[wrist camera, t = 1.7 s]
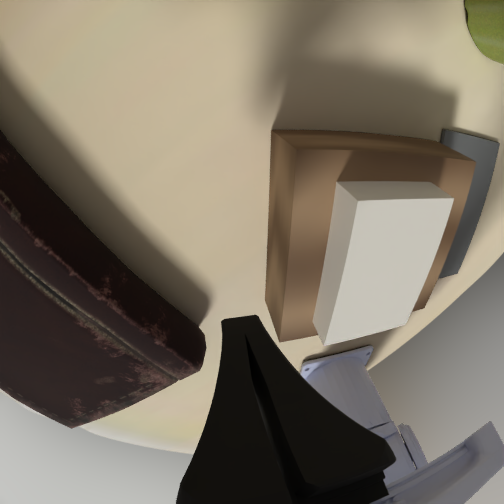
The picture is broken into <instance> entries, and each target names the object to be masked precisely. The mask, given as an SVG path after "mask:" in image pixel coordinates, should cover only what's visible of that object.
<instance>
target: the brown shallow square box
mask: <svg viewBox="0 0 504 504" xmlns="http://www.w3.org/2000/svg"><path fill="white" fill-rule="evenodd" d="M475 166H476V161H474V160H472V159H470V158H469V157H467V156H465V155H463V154H461V153H459V152H457V151H455V150H453V149H451V148H449V147H447V146H445V145H443V144H441V143H439V142H437V141H432V140H425V139H418V138H411V137H403V136H394V135H384V134H373V133H361V132H345V131H324V130H271V158H270V190H269V219H268V244H267V268H266V291H265V301H266V304H267V307H268V310H269V313H270V316H271V319H272V322H273V325H274V328H275V331H276V334H277V337H278V339H279V342H284V341H290V340H295V339H300V338H306V337H311V336H316V335H318V333H317V330H316V328H315V326H314V324H313V322H312V321H313V316H314V312H315V307H316V302H317V297H318V292H319V287H320V282H321V276H322V271H323V265H324V260H325V254H326V248H327V242H328V236H329V230H330V223H331V217H332V210H333V203H334V196H335V189H336V182H349V181H410V182H431V183H433V184H434V185H436V186H437V187H439V188H440V189H442V190H443V191H444V192H446V193H447V194H449V195H450V196H452V197H453V198H454V201H453V205H452V208H451V211H450V215H449V218H448V221H447V224H446V227H445V230H444V233H443V236H442V239H441V242H440V244H439V247H438V250H437V253H436V255H435V258H434V261H433V263H432V266H431V268H430V271H429V273H428V276H427V278H426V281H425V283H424V285H423V288H422V290H421V292H420V295H419V297H418V299H417V301H416V303H415V306H414V308H413V310H412V312H413V311H416V310H420V309H423V308H425V305H426V303H427V301H428V299H429V297H430V295H431V293H432V291H433V288H434V286H435V284H436V282H437V279H438V277H439V275H440V272H441V270H442V268H443V265H444V263H445V260H446V258H447V255H448V253H449V250H450V247H451V245H452V242H453V239H454V236H455V234H456V231H457V228H458V225H459V222H460V219H461V216H462V213H463V210H464V206H465V203H466V200H467V196H468V193H469V189H470V186H471V182H472V178H473V174H474V170H475Z"/></svg>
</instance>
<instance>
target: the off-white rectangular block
mask: <svg viewBox="0 0 504 504" xmlns="http://www.w3.org/2000/svg"><path fill="white" fill-rule="evenodd" d="M453 201H454V198H453V197H452V196H450V195H449V194H447V193H446V192H444V191H443V190H442V189H440V188H439V187H437V186H436V185H434V184H433V183H431V182H410V181H349V182H336V189H335V196H334V203H333V210H332V217H331V223H330V230H329V236H328V242H327V248H326V254H325V260H324V265H323V271H322V276H321V282H320V287H319V292H318V297H317V302H316V307H315V312H314V316H313V321H312V322H313V324H314V326H315V328H316V330H317V333H318V335H319V337H320V339H321V341H322V343H323V346H327V345H331V344H335V343H339V342H344V341H348V340H352V339H356V338H360V337H364V336H367V335H371V334H375V333H378V332H382V331H386V330H389V329H393V328H396V327H399V326H403V325H405V324H406V322H407V320H408V318H409V316H410V314H411V312H412V310H413V308H414V306H415V303H416V301H417V299H418V297H419V295H420V292H421V290H422V288H423V285H424V283H425V281H426V278H427V276H428V273H429V271H430V268H431V266H432V263H433V261H434V258H435V255H436V253H437V250H438V247H439V244H440V242H441V239H442V236H443V233H444V230H445V227H446V224H447V221H448V218H449V215H450V211H451V208H452V205H453Z"/></svg>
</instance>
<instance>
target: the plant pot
mask: <svg viewBox="0 0 504 504" xmlns="http://www.w3.org/2000/svg"><path fill="white" fill-rule="evenodd" d="M465 8H466V10H467V12H468V22H467V25H468V28H469V31H470V34H471V36H472V38H473V40H474V42H475V44H476V46H477V47H478V49H479V50H480V51H481V52H482V53H483V54H484V55H485V56H486V57H488V58H490V59H492V60H494V61H497V62H499V63H502V64H504V0H466V1H465Z"/></svg>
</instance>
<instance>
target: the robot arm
mask: <svg viewBox="0 0 504 504" xmlns="http://www.w3.org/2000/svg"><path fill="white" fill-rule="evenodd" d="M221 325H222V351H221V359H220V367H219V372H218V378H217V383H216V388H215V392H214V396H213V400H212V404H211V407H210V411H209V414H208V417H207V420H206V424H205V427H204V430H203V432H202V435H201V438H200V440H199V443H198V445H197V448H196V450H195V453H194V455H193V458H192V460H191V462H190V465H189V466H188V469H187V471H186V473H185V475H184V477H183V479H182V481H181V483H180V488H179V491H178V496H177V500H176V504H464V503H465V502H466V501H467V500H469V499H470V498H471V497H472V496H473V495H474V494H475V493H476V492H477V491H478V490H479V489H480V488H481V487H482V486H483V485H484V484H485V483H486V482H487V481H488V480H489V479H490V478H491V477H493V476H494V475H495V474H496V473H497V472H498V471H499V470H500V469H501V468H502V467H503V466H504V444H503V442H502V441H501V439H500V437H499V435H498V433H497V431H496V429H495V427H494V426H493V424H492V422H491V421H489V422H488V423H487V424H485V425H484V426H483V427H482V428H480V429H479V430H477V431H476V432H475V433H473V434H472V435H471V436H469V437H468V438H467V439H465V441H463V442H462V443H460V444H459V445H457V446H456V447H454V448H453V449H451V450H450V451H448V452H447V453H445V454H443V455H442V456H440V457H438V458H437V459H435V460H433V461H432V462H430V463H427V460H426V458H425V455H424V453H423V451H422V449H421V446H420V444H419V442H418V440H417V438H416V436H415V434H414V433H413V431H412V429H411V427H410V426H409V425H404V424H403V423H402V424H400V425H398V428H399V430H400V432H401V436H402V438H403V440H404V443H403V441H402V438H401V436H400V434H399V432H398V430H397V428H396V426H395V424H394V422H393V421H392V420H391V418H390V416H389V414H388V412H387V410H386V408H385V405H384V403H383V401H382V399H381V397H380V395H379V393H378V391H377V390H376V387H375V385H374V383H373V381H372V380H371V378H370V376H369V374H368V372H367V370H366V368H365V365H366V363H367V361H368V359H369V357H370V355H371V353H372V351H373V347H372V346H366V347H363V348H359V349H355V350H352V351H348V352H344V353H340V354H336V355H332V356H328V357H323V358H319V359H315V360H310V361H306V362H304V363H303V364H302V368H301V372H300V373H299V372H298V371H297V370H296V369H295V368H294V367H293V366H292V364H291V363H290V362H289V361H288V360H287V358H286V357H285V356H284V354H283V353H282V352H281V351H280V349H279V348H278V347H277V345H276V344H275V342H274V341H273V340H272V338H271V337H270V335H269V334H268V332H267V331H266V329H265V327H264V326H263V324H262V322H261V320H260V319H259V317H258V316H257V315H251V316H244V317H236V318H229V319H224V320H222V321H221ZM413 462H414V464H415V466H416V469H415V467H414V465H413Z"/></svg>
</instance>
